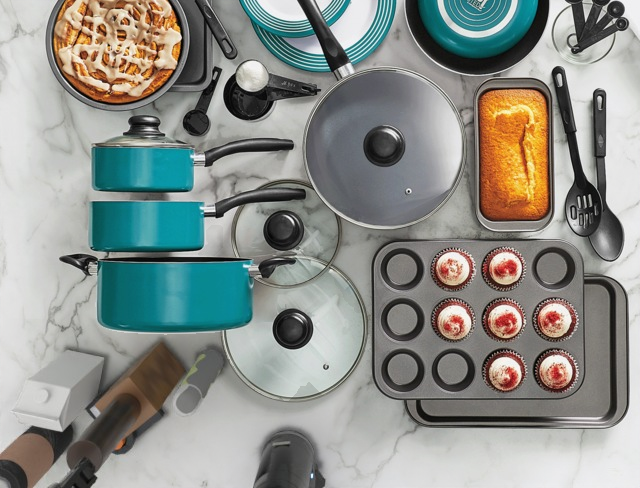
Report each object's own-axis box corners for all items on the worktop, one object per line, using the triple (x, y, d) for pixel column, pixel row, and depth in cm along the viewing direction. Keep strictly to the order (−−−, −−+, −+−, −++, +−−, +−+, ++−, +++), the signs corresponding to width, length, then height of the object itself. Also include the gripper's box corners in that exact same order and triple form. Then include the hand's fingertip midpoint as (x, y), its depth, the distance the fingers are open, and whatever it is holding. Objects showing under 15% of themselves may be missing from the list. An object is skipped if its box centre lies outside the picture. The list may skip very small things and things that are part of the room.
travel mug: (27, 420, 123) (-37, 476, 103) (66, 406, 123) (10, 459, 103) (42, 459, 123) (-19, 523, 103) (81, 445, 123) (28, 506, 103)
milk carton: (97, 395, 122) (51, 443, 103) (59, 387, 123) (6, 434, 104) (105, 357, 122) (60, 398, 103) (67, 349, 122) (14, 389, 103)
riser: (186, 370, 122) (157, 411, 104) (156, 395, 122) (122, 440, 104) (161, 340, 122) (128, 376, 104) (132, 365, 122) (93, 405, 104)
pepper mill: (147, 410, 104) (110, 461, 88) (123, 430, 104) (81, 484, 88) (127, 386, 104) (86, 432, 88) (103, 406, 104) (58, 455, 88)
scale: (167, 416, 122) (162, 423, 119) (122, 452, 123) (116, 460, 120) (129, 370, 122) (124, 376, 119) (84, 407, 123) (78, 414, 120)
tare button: (128, 439, 120) (125, 443, 118) (118, 448, 120) (115, 452, 118) (119, 429, 120) (116, 433, 118) (109, 437, 120) (106, 441, 118)
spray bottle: (191, 361, 122) (160, 406, 102) (210, 342, 122) (182, 383, 102) (211, 380, 122) (183, 429, 102) (229, 361, 122) (205, 406, 102)
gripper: (-43, 649, 65) (36, 547, 82) (69, 558, 65) (126, 473, 81) (-92, 589, 65) (-3, 498, 82) (20, 498, 65) (87, 425, 81)
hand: (61, 486), depth 81 cm, fingers open, 8 cm apart
